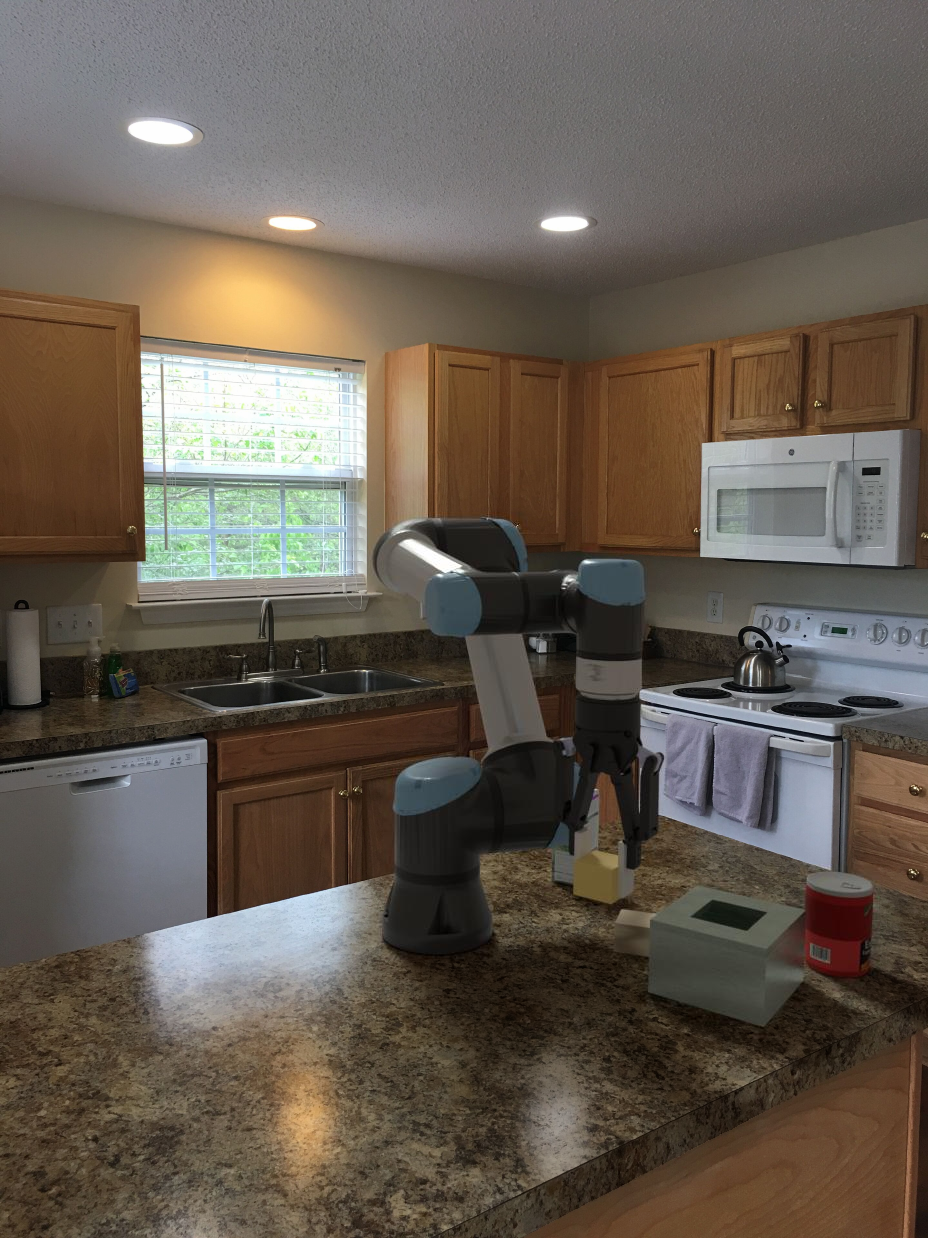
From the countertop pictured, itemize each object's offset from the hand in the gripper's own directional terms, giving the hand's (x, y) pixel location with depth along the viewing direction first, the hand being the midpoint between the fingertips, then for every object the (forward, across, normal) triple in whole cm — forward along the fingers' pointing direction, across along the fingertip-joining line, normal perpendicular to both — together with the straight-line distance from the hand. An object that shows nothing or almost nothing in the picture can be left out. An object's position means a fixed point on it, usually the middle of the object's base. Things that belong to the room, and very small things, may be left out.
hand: (603, 888), depth 118 cm
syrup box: (+14, -22, +32) cm, 41 cm away
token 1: (+1, 0, 0) cm, 1 cm away
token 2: (+13, -3, +15) cm, 20 cm away
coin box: (+13, +11, +11) cm, 20 cm away
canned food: (+13, +20, +25) cm, 35 cm away
